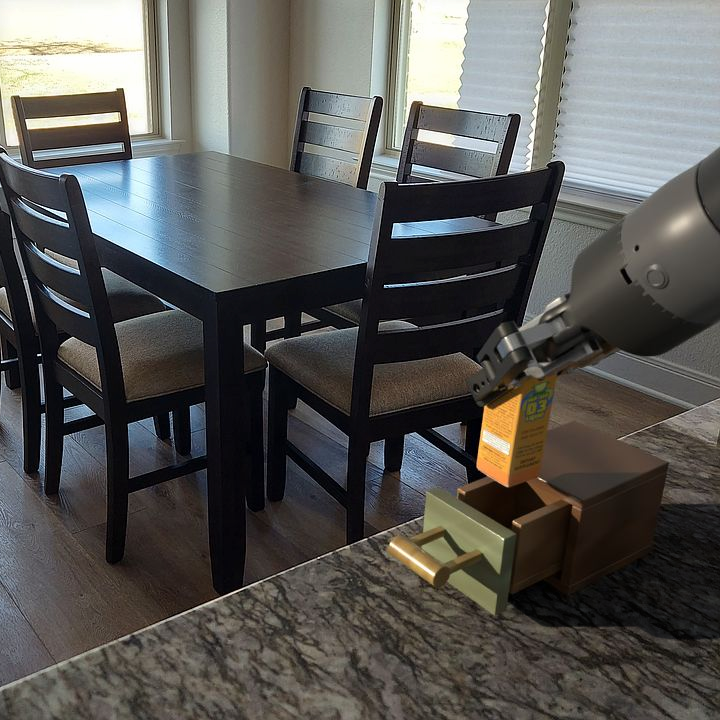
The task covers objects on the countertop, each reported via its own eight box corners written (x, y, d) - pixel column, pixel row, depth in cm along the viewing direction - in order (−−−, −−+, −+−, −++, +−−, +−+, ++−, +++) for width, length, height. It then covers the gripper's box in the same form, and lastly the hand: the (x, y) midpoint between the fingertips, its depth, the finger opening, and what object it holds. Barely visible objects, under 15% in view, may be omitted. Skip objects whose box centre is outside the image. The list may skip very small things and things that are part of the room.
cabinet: (567, 596, 62) (583, 500, 59) (479, 539, 69) (489, 451, 66) (651, 552, 67) (669, 462, 64) (561, 503, 74) (574, 420, 71)
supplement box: (510, 491, 59) (526, 355, 55) (474, 469, 61) (487, 339, 58) (545, 479, 60) (562, 346, 56) (509, 458, 63) (523, 331, 59)
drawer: (444, 641, 57) (452, 562, 54) (371, 584, 63) (376, 510, 60) (579, 573, 63) (591, 500, 61) (502, 526, 69) (510, 458, 67)
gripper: (729, 189, 50) (544, 325, 64) (556, 215, 44) (395, 359, 58) (800, 299, 48) (591, 415, 62) (627, 344, 41) (441, 460, 56)
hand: (497, 387), depth 60 cm, fingers closed on supplement box, 3 cm apart
